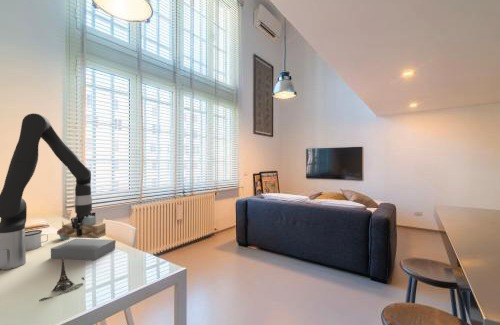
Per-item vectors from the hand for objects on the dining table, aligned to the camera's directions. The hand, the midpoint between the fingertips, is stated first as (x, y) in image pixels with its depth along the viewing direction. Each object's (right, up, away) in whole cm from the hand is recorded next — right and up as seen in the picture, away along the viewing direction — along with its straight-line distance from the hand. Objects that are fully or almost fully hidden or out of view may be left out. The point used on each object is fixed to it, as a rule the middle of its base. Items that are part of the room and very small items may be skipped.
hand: (84, 233), depth 125 cm
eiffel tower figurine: (+16, -12, -34) cm, 40 cm away
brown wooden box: (0, -1, 0) cm, 1 cm away
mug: (-36, -11, +9) cm, 39 cm away
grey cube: (-3, +5, 0) cm, 6 cm away
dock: (0, -11, 0) cm, 11 cm away
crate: (+3, +5, -1) cm, 6 cm away
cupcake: (-30, -11, +25) cm, 41 cm away
